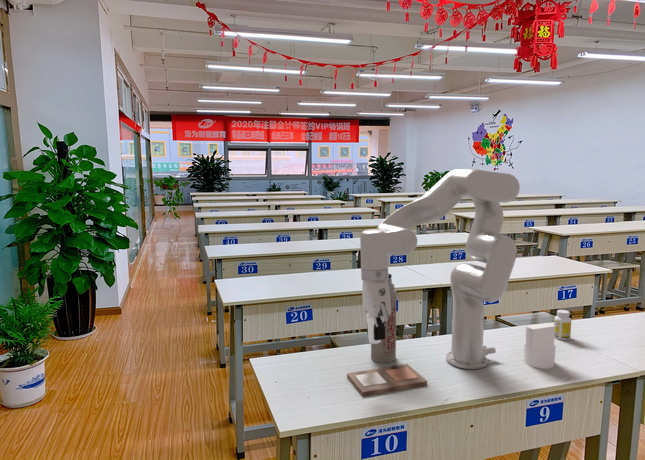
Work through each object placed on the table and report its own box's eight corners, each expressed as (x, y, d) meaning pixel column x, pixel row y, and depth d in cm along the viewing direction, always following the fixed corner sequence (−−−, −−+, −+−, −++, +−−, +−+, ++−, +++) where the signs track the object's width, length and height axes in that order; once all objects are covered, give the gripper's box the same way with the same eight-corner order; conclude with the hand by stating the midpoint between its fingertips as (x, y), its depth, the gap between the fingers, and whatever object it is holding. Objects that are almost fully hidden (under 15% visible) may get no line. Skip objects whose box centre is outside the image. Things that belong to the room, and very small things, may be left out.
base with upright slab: (539, 354, 153) (541, 319, 151) (561, 366, 144) (563, 329, 142) (516, 358, 150) (518, 323, 148) (537, 370, 141) (539, 332, 140)
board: (407, 367, 144) (407, 362, 144) (427, 384, 133) (427, 380, 133) (347, 377, 138) (347, 372, 138) (362, 396, 127) (362, 391, 127)
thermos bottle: (399, 361, 149) (400, 276, 145) (376, 364, 147) (377, 278, 143) (389, 351, 156) (390, 270, 152) (367, 354, 154) (367, 272, 150)
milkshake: (385, 345, 130) (384, 311, 128) (366, 344, 131) (365, 311, 129) (386, 338, 134) (385, 305, 132) (367, 337, 135) (366, 305, 133)
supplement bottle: (572, 337, 167) (574, 311, 166) (567, 341, 163) (569, 314, 162) (556, 333, 171) (557, 308, 169) (551, 337, 167) (552, 311, 166)
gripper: (400, 279, 122) (401, 345, 125) (374, 266, 138) (376, 324, 141) (374, 283, 120) (375, 349, 123) (351, 268, 136) (353, 328, 139)
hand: (376, 335), depth 132 cm, fingers closed on milkshake, 4 cm apart
